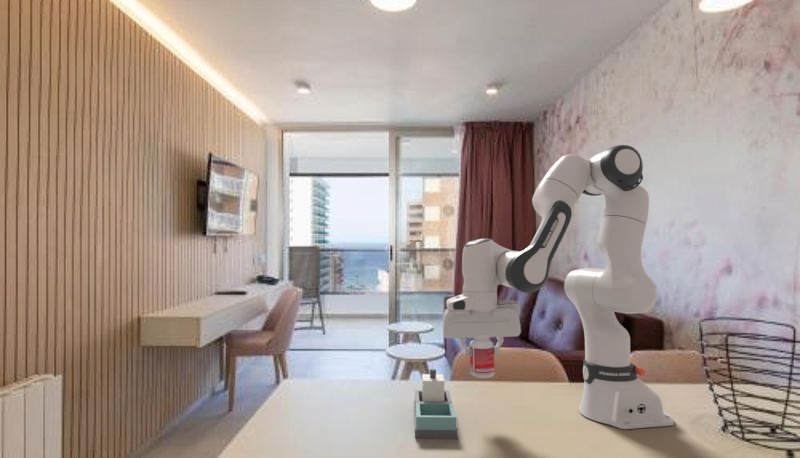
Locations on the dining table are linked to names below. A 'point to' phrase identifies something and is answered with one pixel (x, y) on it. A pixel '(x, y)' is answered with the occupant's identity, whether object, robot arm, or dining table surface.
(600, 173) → the robot arm
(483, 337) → the pill bottle
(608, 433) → the dining table surface
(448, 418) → the teal tray with block
